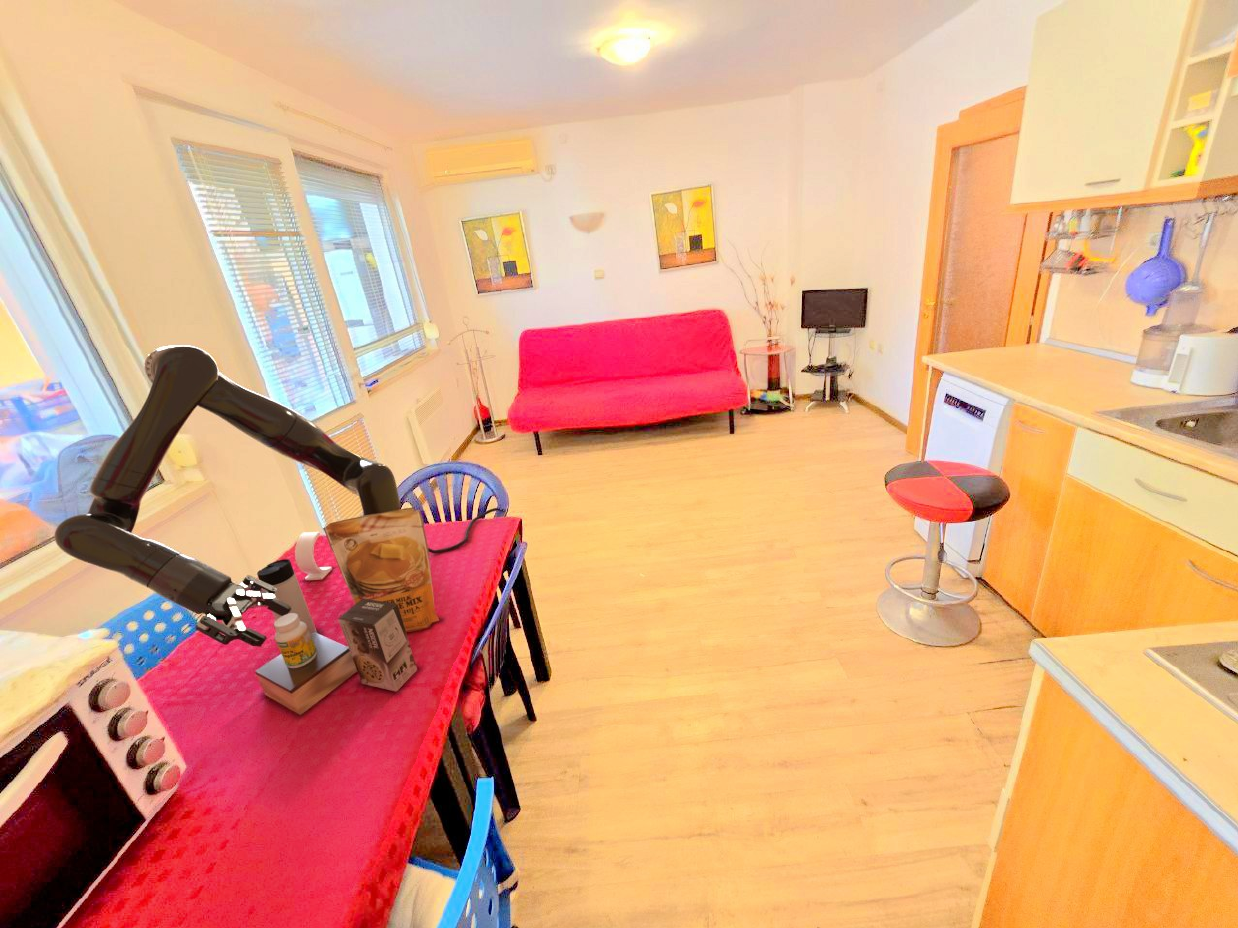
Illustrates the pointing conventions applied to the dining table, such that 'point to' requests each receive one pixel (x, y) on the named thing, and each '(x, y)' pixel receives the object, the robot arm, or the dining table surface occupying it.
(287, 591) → the travel mug
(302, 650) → the supplement bottle
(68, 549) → the robot arm
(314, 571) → the headphone stand
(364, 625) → the coffee box
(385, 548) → the pancake mix bag
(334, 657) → the stand
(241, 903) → the dining table surface
